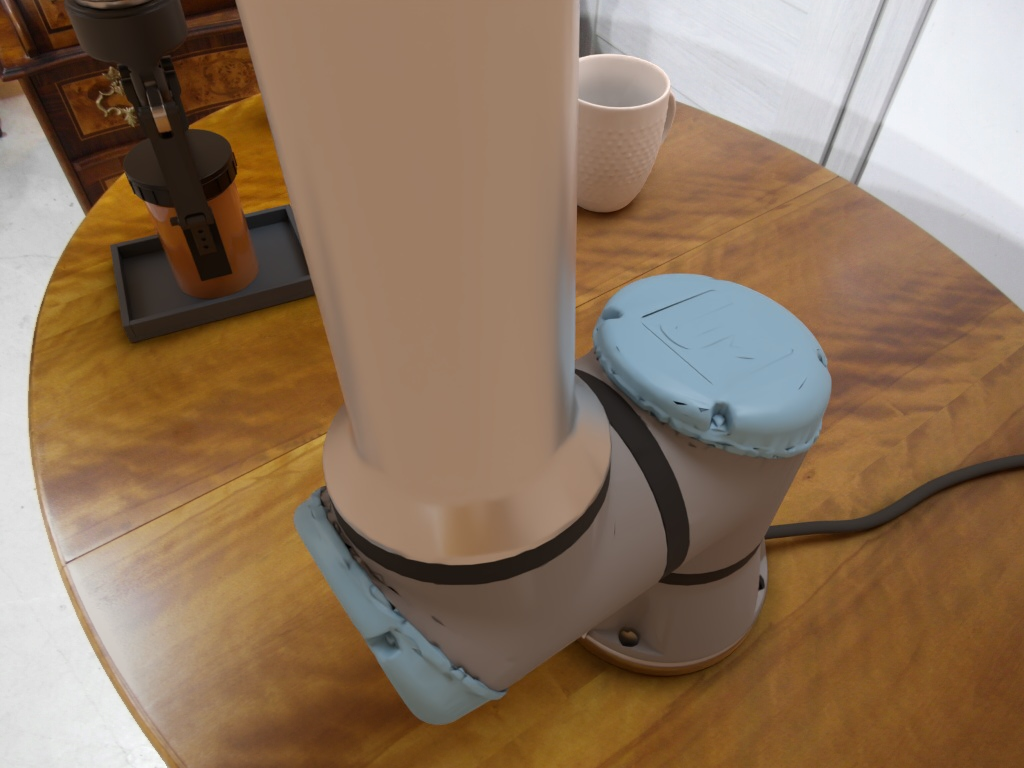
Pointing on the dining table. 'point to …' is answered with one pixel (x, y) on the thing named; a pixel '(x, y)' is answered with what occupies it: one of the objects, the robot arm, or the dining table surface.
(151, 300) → the tray
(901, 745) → the dining table surface
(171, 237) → the jar
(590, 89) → the mug
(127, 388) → the dining table surface
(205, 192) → the jar lid
